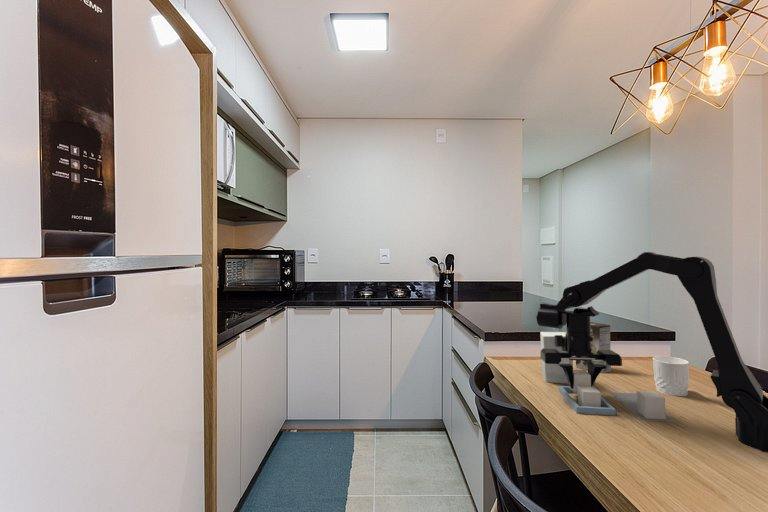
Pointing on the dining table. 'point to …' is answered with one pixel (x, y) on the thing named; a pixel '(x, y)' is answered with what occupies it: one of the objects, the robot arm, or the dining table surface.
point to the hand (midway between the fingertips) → (580, 388)
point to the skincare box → (552, 370)
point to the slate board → (634, 405)
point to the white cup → (671, 375)
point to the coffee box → (598, 344)
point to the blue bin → (604, 410)
